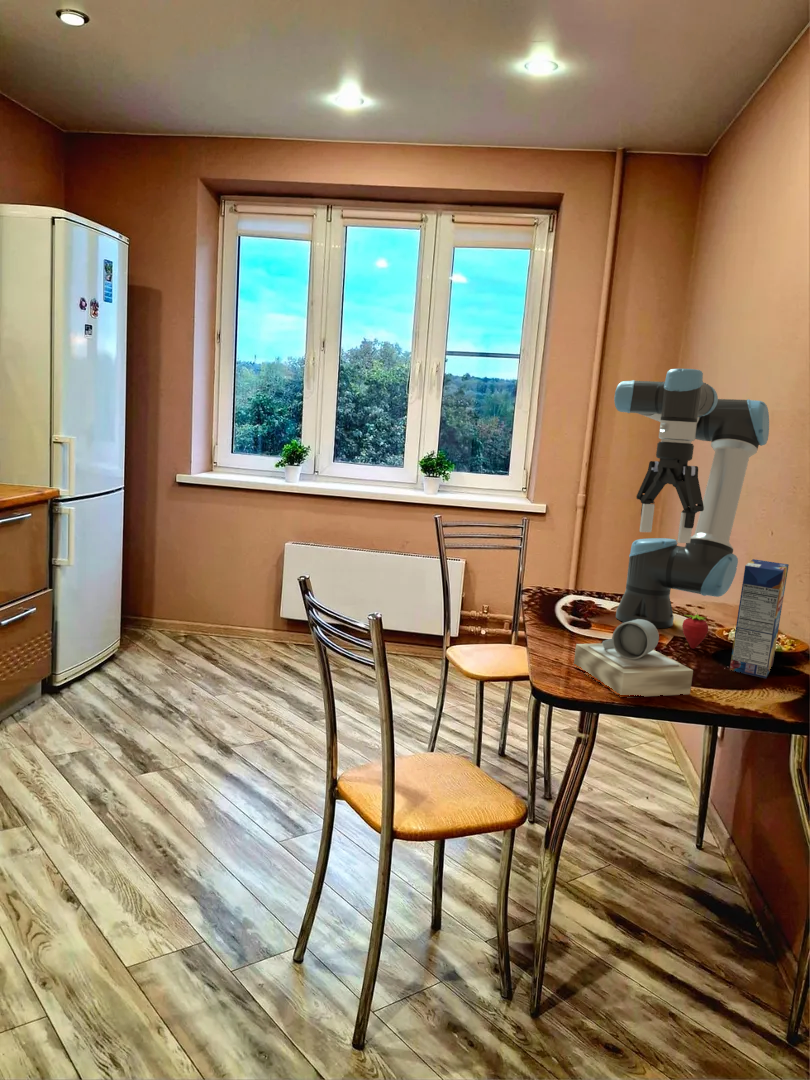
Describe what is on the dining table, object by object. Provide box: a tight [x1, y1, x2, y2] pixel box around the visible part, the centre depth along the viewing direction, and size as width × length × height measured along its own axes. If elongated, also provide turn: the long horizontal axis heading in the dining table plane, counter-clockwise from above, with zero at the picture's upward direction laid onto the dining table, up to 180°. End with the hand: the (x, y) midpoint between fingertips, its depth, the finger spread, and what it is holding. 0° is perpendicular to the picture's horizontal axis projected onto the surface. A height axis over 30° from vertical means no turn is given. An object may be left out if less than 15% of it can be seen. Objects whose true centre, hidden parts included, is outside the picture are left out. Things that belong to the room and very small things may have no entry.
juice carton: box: [729, 558, 790, 679], centre depth 163 cm, size 12×8×24 cm, turn 147°
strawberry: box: [681, 609, 709, 650], centre depth 176 cm, size 6×8×10 cm
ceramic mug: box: [602, 619, 660, 660], centre depth 150 cm, size 11×8×8 cm
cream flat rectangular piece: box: [573, 643, 694, 697], centre depth 150 cm, size 18×16×5 cm
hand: (663, 537), depth 161 cm, fingers open, 13 cm apart
